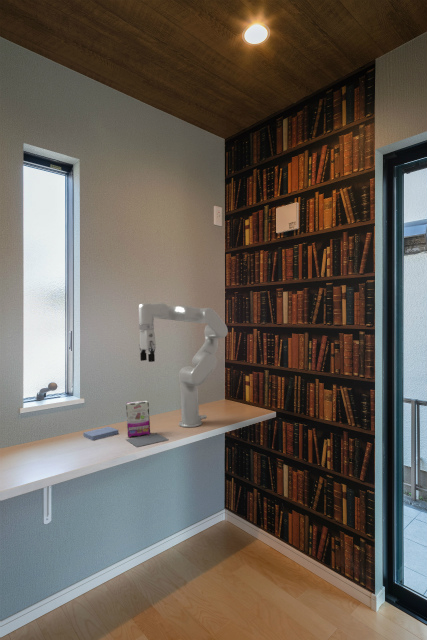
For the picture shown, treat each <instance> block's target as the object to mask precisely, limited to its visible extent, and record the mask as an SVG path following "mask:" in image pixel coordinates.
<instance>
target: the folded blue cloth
mask: <svg viewBox="0 0 427 640" xmlns="http://www.w3.org/2000/svg"><path fill="white" fill-rule="evenodd" d="M82 433H83V436H84V438H86V439H88V440H90V441H96V440H99V439H104V438H107V437H112V436H116V435H119V429H116V428H113V427H112V426H111V427H110V426H106V427H105V426H104V427H102V428H98V429H93V430H89V431H84V432H82Z"/></svg>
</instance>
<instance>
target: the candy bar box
mask: <svg viewBox="0 0 427 640" xmlns="http://www.w3.org/2000/svg"><path fill="white" fill-rule="evenodd" d="M149 405H150V404H149V400H139V401H131V402H125V410H126V411H125V412H126V428H127V437H128V438H135V437H140V436H145V435H150V434H151V422H150V421H151V420H150V406H149Z"/></svg>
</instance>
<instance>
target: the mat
mask: <svg viewBox="0 0 427 640" xmlns="http://www.w3.org/2000/svg"><path fill="white" fill-rule="evenodd" d="M125 441H127V442H128V443H129V444H131V445H133V446H134V447H136V448H140V447H144V446H149V445H153V444H157V443H161V442H166V441H169V439H168V438H166V437H165V436H162V435H161V434H159V433H157V432H156V433H150V434H149V435H142V436H134V437H130V438H127V439H125Z"/></svg>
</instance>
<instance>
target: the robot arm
mask: <svg viewBox="0 0 427 640" xmlns="http://www.w3.org/2000/svg"><path fill="white" fill-rule="evenodd" d="M154 319H159V320H170V321H176V322H187V323H195V324H207V325H205V327H204V342H203V345H202V346H201V347H200V348H199V349H198V351H197V352H196V353H195V354H194V356H193V357H192V360H191V363H192V365H193V366H190V365H189V366H186V365H185V366H184V367H182V368H181V369H179V372H178V381H179V385H180V409H181V411H180V412H181V421H179V422H178V426H179V427H181V428H195V427H199V426H202V424H203V421H202V420H206V419H207V418H208V417H207V414H204V415H203V414H200V412H199V407H200V406H199V388H198V386H201V385H203V384H204V383H205V382H206V381H207V379H208V378H209V376H211V374H212V373H213V371H214V370H215V369H216V367H217V363H218V359H217V356H216V353H217V351H218V349H219V339H223V338H224V339H225V337H227V335H228V333H229V331H228V327H227V325H226V323H225V322H224V321H223V320H222V318H221V316H219V314H218V312H216V311H215V310H214V309H213V308H211V307H202V308H201V307H194V306H188V305H173V306H169V305H168V304H166V303H164V302H160V303H140V304H138V331H139V344H138V346H139V353H140V354H139V355H140V356H139V357H140V361H141V362H144V361H147V362H148V363H153V362H155V359H156V358H155V356H156V355H155V353H156V352H155V351H156V336H155V320H154ZM147 352H148V354H147ZM147 357H148V359H147Z"/></svg>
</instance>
